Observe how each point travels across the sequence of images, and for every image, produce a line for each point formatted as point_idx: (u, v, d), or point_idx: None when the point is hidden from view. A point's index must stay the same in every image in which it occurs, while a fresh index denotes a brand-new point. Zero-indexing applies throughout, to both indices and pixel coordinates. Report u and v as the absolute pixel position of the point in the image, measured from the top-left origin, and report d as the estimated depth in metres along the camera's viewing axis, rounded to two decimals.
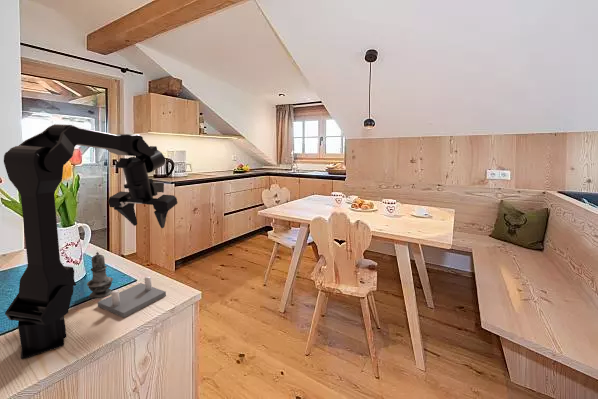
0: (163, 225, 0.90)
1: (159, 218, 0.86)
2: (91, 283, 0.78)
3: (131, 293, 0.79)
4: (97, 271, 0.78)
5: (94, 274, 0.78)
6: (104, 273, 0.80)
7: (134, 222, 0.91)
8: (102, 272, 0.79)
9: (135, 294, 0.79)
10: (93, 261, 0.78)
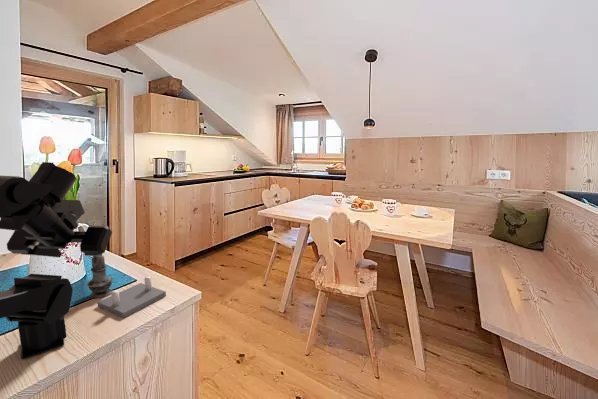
0: (101, 254, 0.71)
1: (94, 256, 0.67)
2: (91, 283, 0.78)
3: (131, 293, 0.79)
4: (97, 271, 0.78)
5: (94, 274, 0.78)
6: (104, 273, 0.80)
7: (57, 254, 0.70)
8: (102, 272, 0.79)
9: (135, 294, 0.79)
10: (93, 261, 0.78)
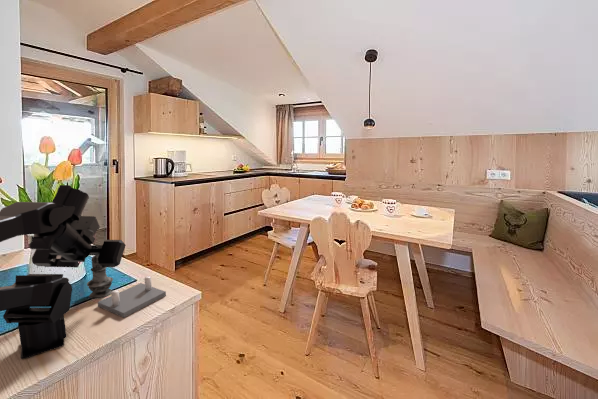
0: None
1: None
2: (91, 283, 0.78)
3: (131, 293, 0.79)
4: (97, 271, 0.78)
5: (94, 274, 0.78)
6: (104, 273, 0.80)
7: (75, 265, 0.77)
8: (102, 272, 0.79)
9: (135, 294, 0.79)
10: (93, 261, 0.78)
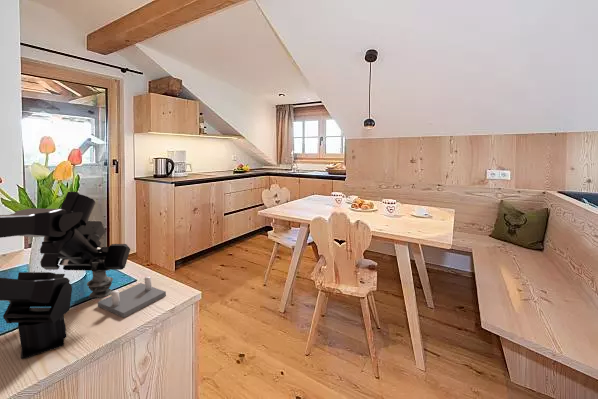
0: None
1: None
2: (91, 283, 0.78)
3: (131, 293, 0.79)
4: (97, 271, 0.78)
5: (94, 274, 0.78)
6: (104, 273, 0.80)
7: None
8: (102, 272, 0.79)
9: (135, 294, 0.79)
10: None
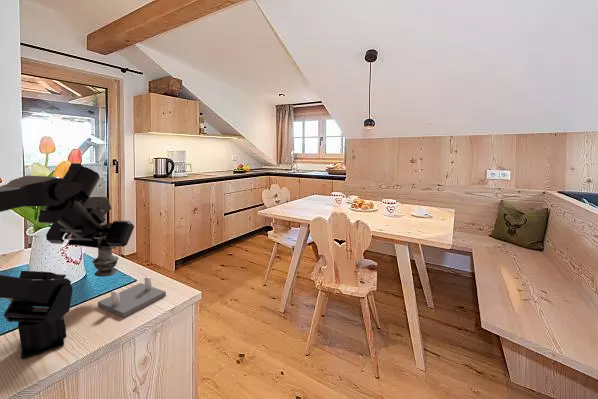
0: (115, 246, 0.79)
1: (108, 247, 0.75)
2: (96, 260, 0.77)
3: (131, 293, 0.79)
4: (102, 248, 0.77)
5: (99, 251, 0.77)
6: (109, 251, 0.78)
7: None
8: (107, 250, 0.78)
9: (135, 294, 0.79)
10: (99, 238, 0.76)
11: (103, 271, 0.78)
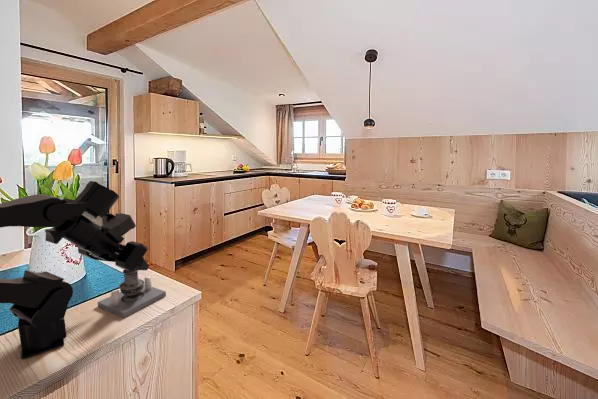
0: (146, 267, 0.75)
1: None
2: (122, 284, 0.76)
3: None
4: (126, 273, 0.75)
5: (124, 276, 0.75)
6: (134, 277, 0.76)
7: None
8: (131, 275, 0.75)
9: None
10: None
11: (128, 296, 0.77)
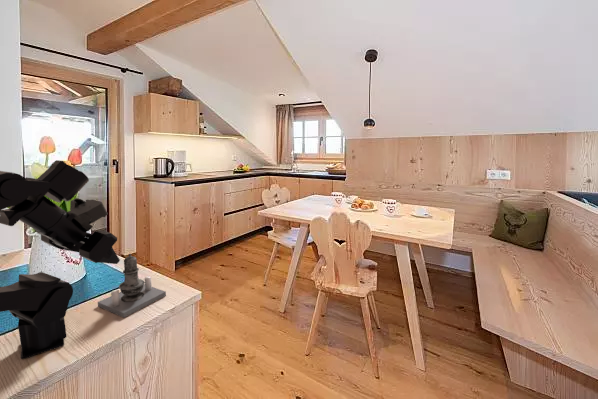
0: (116, 261, 0.68)
1: None
2: (122, 284, 0.76)
3: None
4: (126, 273, 0.75)
5: (125, 276, 0.75)
6: (134, 277, 0.76)
7: None
8: (131, 275, 0.75)
9: None
10: (124, 262, 0.75)
11: (128, 296, 0.77)
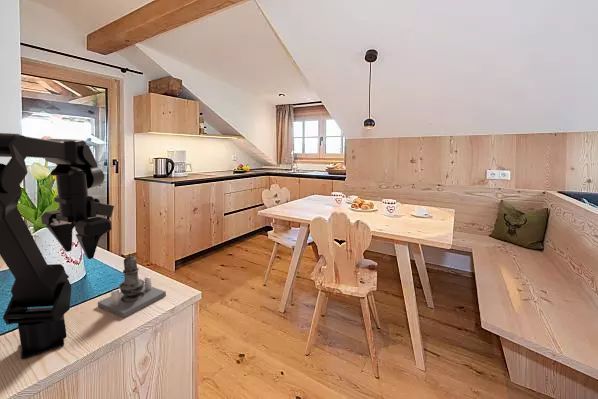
0: (90, 255, 0.71)
1: (82, 244, 0.69)
2: (122, 284, 0.76)
3: None
4: (126, 273, 0.75)
5: (124, 275, 0.75)
6: (134, 277, 0.76)
7: (66, 247, 0.75)
8: (131, 275, 0.75)
9: None
10: (124, 262, 0.75)
11: (128, 296, 0.77)
